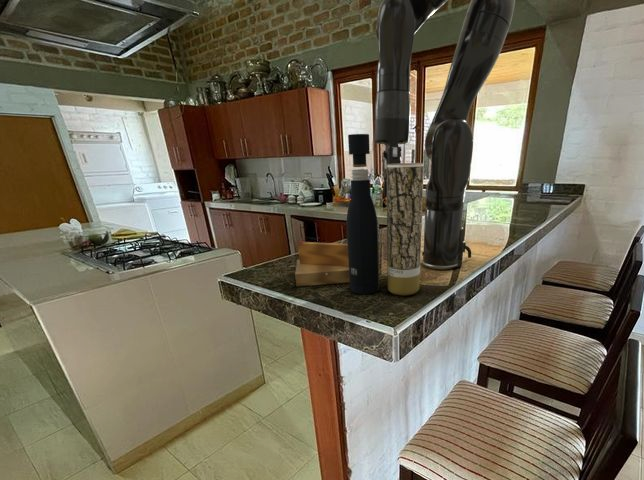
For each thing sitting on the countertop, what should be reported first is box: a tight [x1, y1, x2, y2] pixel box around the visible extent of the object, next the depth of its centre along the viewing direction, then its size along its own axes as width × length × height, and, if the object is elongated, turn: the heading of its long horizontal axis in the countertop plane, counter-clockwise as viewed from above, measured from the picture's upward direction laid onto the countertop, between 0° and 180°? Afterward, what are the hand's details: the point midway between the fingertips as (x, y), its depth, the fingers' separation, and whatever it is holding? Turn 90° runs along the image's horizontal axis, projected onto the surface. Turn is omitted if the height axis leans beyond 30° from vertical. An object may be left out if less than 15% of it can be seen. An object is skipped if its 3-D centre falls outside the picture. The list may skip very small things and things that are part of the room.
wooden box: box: [288, 259, 350, 287], centre depth 82 cm, size 17×17×3 cm
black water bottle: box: [345, 133, 380, 295], centre depth 67 cm, size 6×6×30 cm
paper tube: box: [386, 162, 425, 297], centre depth 66 cm, size 7×7×25 cm
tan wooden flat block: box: [297, 240, 349, 266], centre depth 80 cm, size 13×2×5 cm, turn 74°
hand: (390, 198), depth 78 cm, fingers open, 8 cm apart
